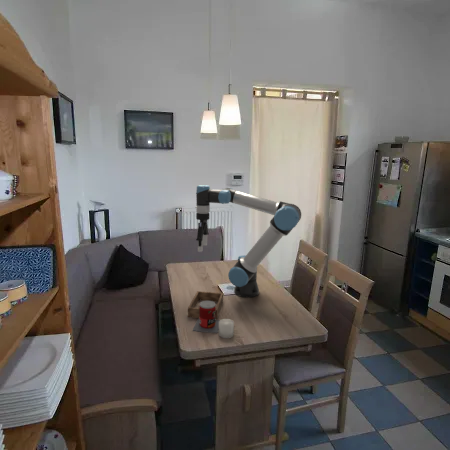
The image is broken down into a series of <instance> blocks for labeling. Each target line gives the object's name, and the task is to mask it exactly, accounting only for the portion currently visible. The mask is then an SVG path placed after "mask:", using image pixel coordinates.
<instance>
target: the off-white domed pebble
mask: <svg viewBox="0 0 450 450" xmlns="http://www.w3.org/2000/svg"><path fill="white" fill-rule="evenodd" d="M219 320H220V321H219V331H218V337H220V338H223V339H231V338H232V337H234V335H235V334H234V333H235V331H234V330H235V321H234V320H233V319H230V318H223V319H219Z"/></svg>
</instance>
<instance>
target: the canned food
mask: <svg viewBox="0 0 450 450" xmlns="http://www.w3.org/2000/svg"><path fill="white" fill-rule="evenodd" d="M215 302H216V301H203V300H201V301H200V303H199V307H198V308H199V323H200V326H201V327H202V328H206V329H209V328H213V327H214V326H215V320H216V319H215V318H216V306H217V304H216V303H215Z"/></svg>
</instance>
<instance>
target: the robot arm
mask: <svg viewBox="0 0 450 450" xmlns="http://www.w3.org/2000/svg"><path fill="white" fill-rule="evenodd" d="M195 195H196V203H195V204H196V206H195V210H196V214H195V215H196V216H195V217H196V220H198V221H199V222H198V224H197V226H198V227H197V233H196V238H195V239H196V240H195V241H197V253H198V252H199V253H203V250H204V249H203V248H204V246H205V247H207V246H208V235H209V228H208V221H209V220H210V211H211V210H210V208H211V207H210V205H211V204H212V203H213V204H222V205H225V204H227V205H228V204H230V203H232V204H235V205H239V206H242V207H245V208H249V209H251V210H255V211H259V212H262V213H265V214H269V215H270V216H271V215H272V216H273V217H272V218H271V220H270V221H269V226H268V228H267V229H266V230H265V231H264V233H263V234H262V235H261V236H260V238H259V239H258V240H257V241H256V243H254V245H253V246H252V247H251V249H250V250H249V251H248V253H246V255H239V256H238V257H237V262H236V263H235V264H234V265H233V267H232V268H230V269H229V271H228V280H229V282H230V283H231V284H232V285H233V286H234V287H233V288H234V289H233V291H234V292H235V293H234V295H236V296H238V297H242V298H254V297H257V296H258V295H259V293H260V289H259V285H258V282H257V279H258V277H257V275H258V274H257V273H258V266H259V265H260V263H262V262H263V260H264V259H265V258H266V256H267V255H268V254H269V253H270V252H272V250H273V249H274V247H275V246H276V245H277V244H278V243H279V242H280V240H281V239H282V238H283V237H284V236H285V237H286V236H288V235H289V234H290V232H292V230H293V229H295V228H296V227H297V225H298V223H299V222H300V221H301V219H302V210H301V209H300V207H299V206H298V205H296V204H294V203H288V202H284V201H278V202H277V201H274V200H271V199H267V198H264V197H261V196H256V195H254V194H249V193H246V192H242V191H239V190H235V189H234V188H232V187H225V188H221V189H211V186H210V185H207V184H205V185H204V184H202V185H201V184H199V185H197V186H196V193H195Z"/></svg>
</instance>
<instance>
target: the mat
mask: <svg viewBox="0 0 450 450" xmlns="http://www.w3.org/2000/svg"><path fill="white" fill-rule="evenodd" d="M220 320H221V319H217V320H216V319H215V326H214V327H213V328H209V329H206V328H202V327H201V326H200V323H199V318H196V322H195V324H194V326H193V328H192V332H199V333H211V334H219V321H220Z"/></svg>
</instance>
